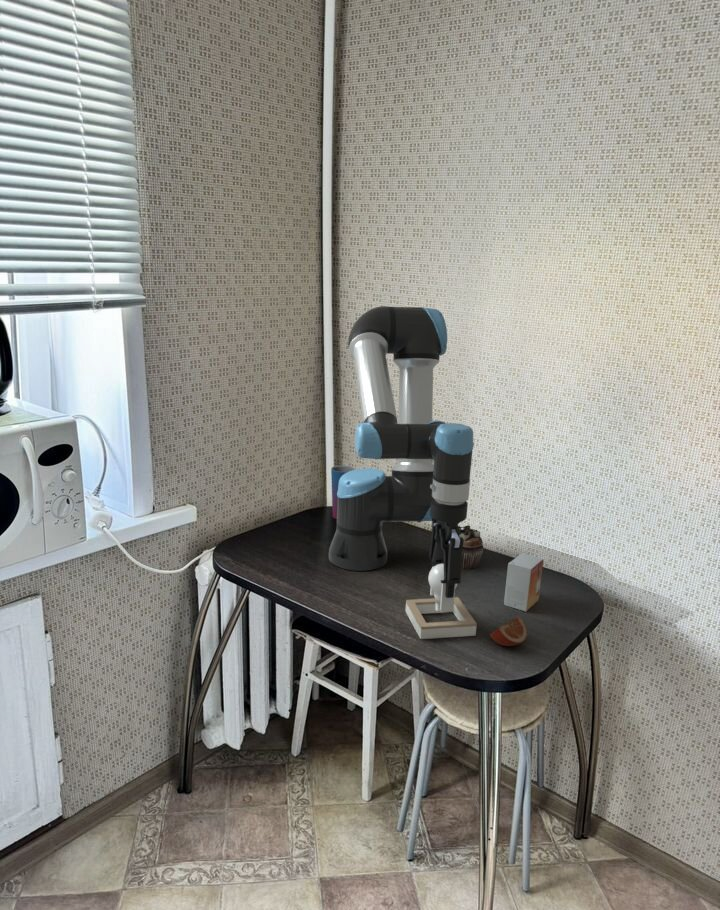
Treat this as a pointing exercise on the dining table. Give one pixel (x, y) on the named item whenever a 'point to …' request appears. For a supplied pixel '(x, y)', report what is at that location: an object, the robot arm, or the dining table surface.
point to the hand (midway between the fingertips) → (441, 601)
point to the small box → (523, 582)
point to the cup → (336, 475)
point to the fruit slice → (510, 633)
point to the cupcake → (470, 547)
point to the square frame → (440, 629)
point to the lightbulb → (437, 584)
